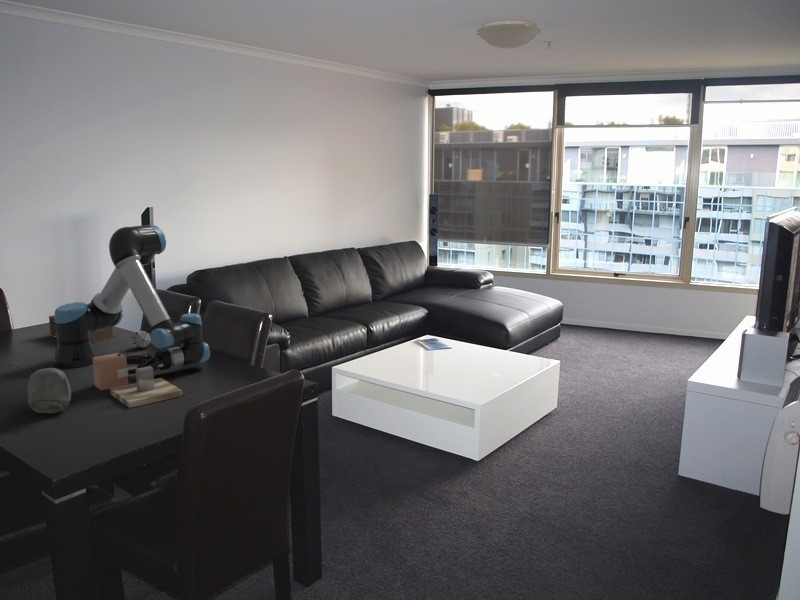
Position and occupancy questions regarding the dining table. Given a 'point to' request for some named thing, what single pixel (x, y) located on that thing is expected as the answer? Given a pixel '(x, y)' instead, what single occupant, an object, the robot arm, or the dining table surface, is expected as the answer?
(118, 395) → the base
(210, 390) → the dining table surface
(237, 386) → the dining table surface
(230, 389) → the dining table surface
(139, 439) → the dining table surface
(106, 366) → the notched tan block
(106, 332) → the tissue box cover
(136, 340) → the game die
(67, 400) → the decorative stone
